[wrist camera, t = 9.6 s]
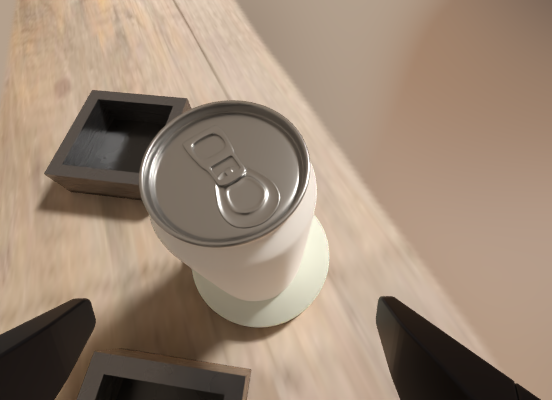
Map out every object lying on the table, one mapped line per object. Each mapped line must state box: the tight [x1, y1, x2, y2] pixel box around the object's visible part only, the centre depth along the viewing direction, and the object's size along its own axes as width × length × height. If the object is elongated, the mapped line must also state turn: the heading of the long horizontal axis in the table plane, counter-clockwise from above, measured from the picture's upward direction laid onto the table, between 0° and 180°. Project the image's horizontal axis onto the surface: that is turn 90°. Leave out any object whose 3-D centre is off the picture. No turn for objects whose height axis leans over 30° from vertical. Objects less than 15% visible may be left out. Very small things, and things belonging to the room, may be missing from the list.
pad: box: [192, 215, 329, 328], centre depth 21 cm, size 10×10×2 cm
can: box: [139, 100, 317, 301], centre depth 14 cm, size 6×6×12 cm
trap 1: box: [44, 90, 191, 200], centre depth 24 cm, size 9×9×3 cm
